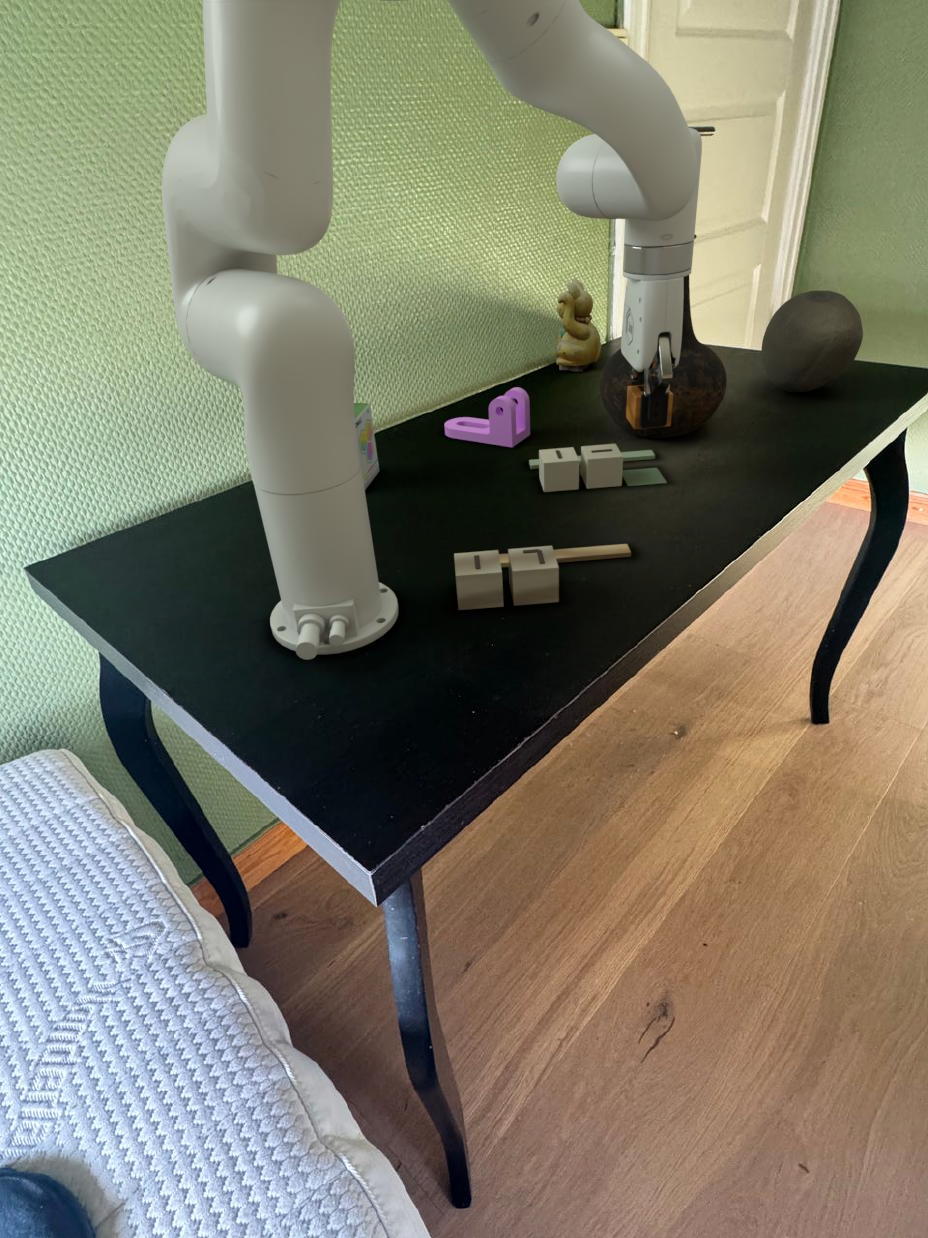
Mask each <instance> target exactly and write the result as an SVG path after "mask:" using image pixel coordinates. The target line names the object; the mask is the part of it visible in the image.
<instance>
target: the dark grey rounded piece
mask: <svg viewBox="0 0 928 1238" xmlns="http://www.w3.org/2000/svg"><path fill="white" fill-rule="evenodd" d="M863 337H864V330H863V322H862V318H861V314H860V313H859V310H857V308H856V306H855V305H854V304H853V303H852V301H851V300H849V299H848V298H847V297H846V296H844V295H843V294H841V293H839V292H835V291H832V290H808V291H805V292H801V293H799V294H798V293H797V294H796V295H794V296H792V297H791V298H790V299H788V300H786V301H785V302H784V303H782V305H781V306H780V307H778V309H777V310H776V311H775V312H774V313H773V315H772V316H771V318H770V320H769V322H768V324H767V326H766V328H765V331H764V335H763V337H762V341H761V351H760V352H761V353H760V355H761V361H762V366H763V369H764V371H765V374H766V375H767V378H768V379H769V380H770V382H771V383H772V384H773V385H774V386H775V387H776V388H777V389H780V390H782V391H784V392H788V393H806V392H810V391H814V390H816V389H819V388H821V387H824V386H825V385H827V384H829V383H831V382H832V381H834V380H836V379H837V378H838V377H840V376H841V375H843V373H844V372H846V370H848V368H850V366H851V365H852V364H853V362H854V361H855V359H856V357H857V355H858V353H859V350H860V348H861V346H862V342H863Z"/></svg>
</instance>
